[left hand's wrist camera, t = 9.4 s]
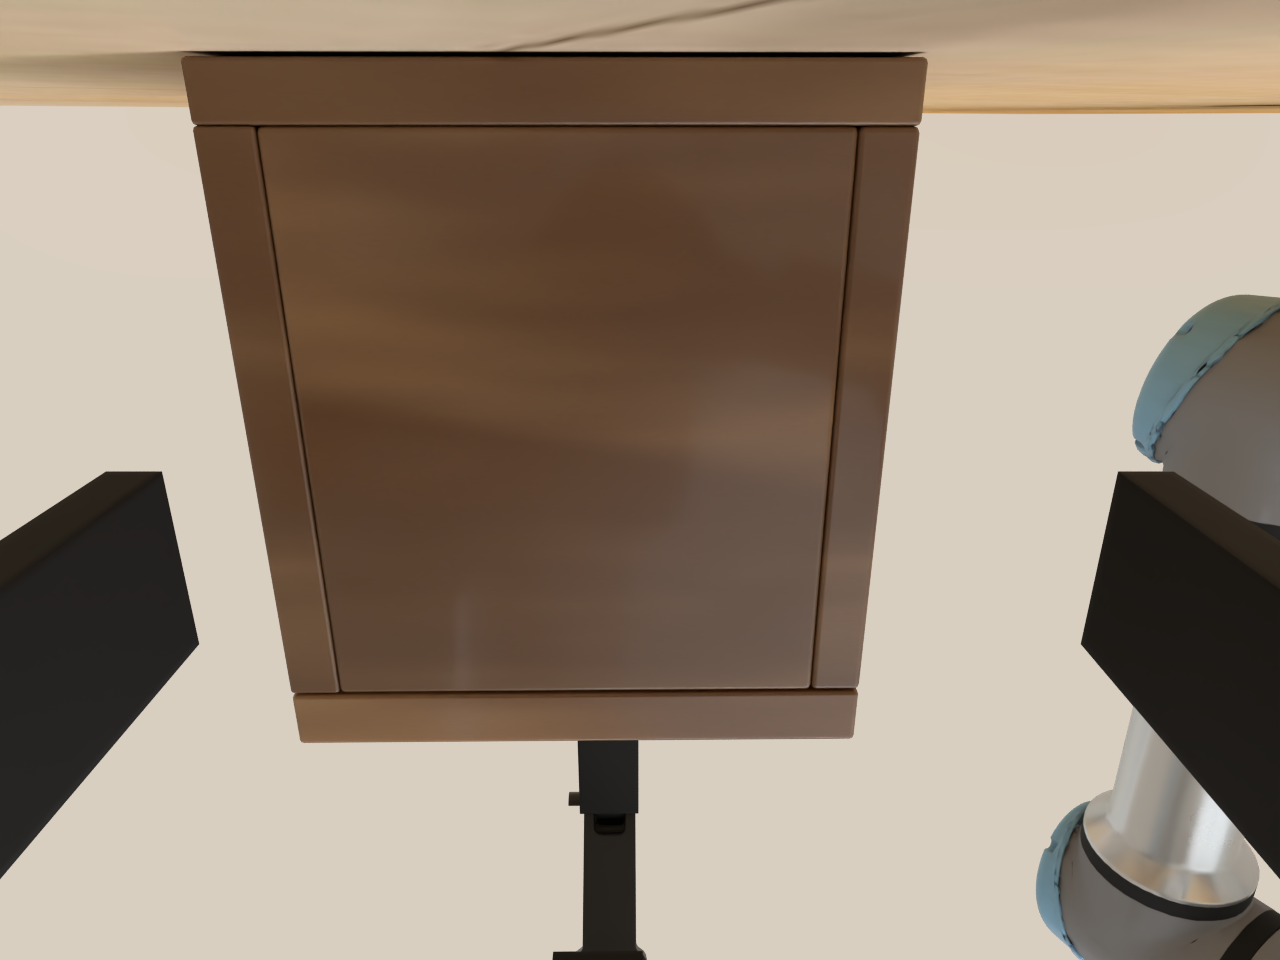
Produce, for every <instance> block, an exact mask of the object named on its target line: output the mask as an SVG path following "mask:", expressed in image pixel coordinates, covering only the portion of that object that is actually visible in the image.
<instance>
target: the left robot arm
mask: <svg viewBox="0 0 1280 960" xmlns="http://www.w3.org/2000/svg"><path fill="white" fill-rule="evenodd" d="M198 645H199V641H198V636H197V632H196V628H195V623H194V618H193V613H192V609H191V604H190V600H189V595H188V590H187V586H186V581H185V576H184V572H183V567H182V562H181V558H180V553H179V549H178V544H177V539H176V535H175V530H174V525H173V521H172V516H171V512H170V507H169V502H168V498H167V493H166V488H165V484H164V479H163V475H162V472H105V473H103V474H102V475H100V476H99V477H97V478H95V479H94V480H92V481H91V482H89V483H88V484H86V485H85V486H83V487H82V488H80V489H79V490H77V491H75V492H74V493H72V494H71V495H69V496H68V497H66V498H65V499H63V500H62V501H60V502H59V503H57V504H56V505H54V506H52V507H51V508H49V509H48V510H46V511H45V512H43V513H42V514H40V515H39V516H37V517H36V518H34V519H33V520H31V521H29V522H28V523H26V524H25V525H23V526H22V527H20V528H19V529H17V530H16V531H14V532H13V533H11V534H10V535H8V536H7V537H5V538H3V539H2V540H0V879H1V877H2V876H3V875H4V874H5V873H6V872H7V870H8V869H9V868H10V867H11V866H12V864H13V863H14V862H15V861H16V860H17V858H18V857H19V856H20V855H21V854H22V853H23V851H24V850H25V849H26V848H27V847H28V846H29V844H30V843H31V842H32V841H33V840H34V838H35V837H36V836H37V835H38V834H39V833H40V831H41V830H42V829H43V828H44V827H45V825H46V824H47V823H48V822H49V821H50V820H51V818H52V817H53V816H54V815H55V814H56V812H57V811H58V810H59V809H60V808H61V807H62V805H63V804H64V803H65V802H66V801H67V799H68V798H69V797H70V796H71V795H72V794H73V792H74V791H75V790H76V789H77V788H78V787H79V785H80V784H81V783H82V782H83V781H84V779H85V778H86V777H87V776H88V775H89V774H90V772H91V771H92V770H93V769H94V768H95V766H96V765H97V764H98V763H99V762H100V760H101V759H102V758H103V757H104V756H105V755H106V753H107V752H108V751H109V750H110V749H111V747H112V746H113V745H114V744H115V743H116V742H117V740H118V739H119V738H120V737H121V736H122V735H123V733H124V732H125V731H126V730H127V729H128V727H129V726H130V725H131V724H132V723H133V722H134V720H135V719H136V718H137V717H138V716H139V714H140V713H141V712H142V711H143V710H144V709H145V707H146V706H147V705H148V704H149V703H150V701H151V700H152V699H153V698H154V697H155V696H156V694H157V693H158V692H159V691H160V690H161V688H162V687H163V686H164V685H165V684H166V683H167V681H168V680H169V679H170V678H171V677H172V675H173V674H174V673H175V672H176V671H177V670H178V668H179V667H180V666H181V665H182V664H183V663H184V661H185V660H186V659H187V658H188V657H189V655H190V654H191V653H192V652H193V651H194V650H195V648H196V647H197V646H198ZM1081 645H1082V646H1083V647H1084V648H1085V650H1086V651H1087V652H1088V653H1089V654H1090V655H1091V657H1092V658H1093V659H1094V660H1095V661H1096V663H1097V664H1098V665H1099V666H1100V667H1101V668H1102V670H1103V671H1104V672H1105V673H1106V674H1107V676H1108V677H1109V678H1110V679H1111V680H1112V681H1113V683H1114V684H1115V685H1116V686H1117V687H1118V689H1119V690H1120V691H1121V692H1122V693H1123V694H1124V696H1125V697H1126V698H1127V699H1128V700H1129V702H1130V703H1131V704H1132V705H1133V706H1134V707H1135V709H1136V710H1137V711H1138V712H1139V713H1140V714H1141V716H1142V717H1143V718H1144V719H1145V720H1146V722H1147V723H1148V724H1149V725H1150V726H1151V727H1152V729H1153V730H1154V731H1155V732H1156V733H1157V735H1158V736H1159V737H1160V738H1161V739H1162V740H1163V742H1164V743H1165V744H1166V745H1167V746H1168V748H1169V749H1170V750H1171V751H1172V752H1173V753H1174V755H1175V756H1176V757H1177V758H1178V759H1179V761H1180V762H1181V763H1182V764H1183V765H1184V766H1185V768H1186V769H1187V770H1188V771H1189V772H1190V774H1191V775H1192V776H1193V777H1194V778H1195V779H1196V781H1197V782H1198V783H1199V784H1200V785H1201V787H1202V788H1203V789H1204V790H1205V791H1206V792H1207V794H1208V795H1209V796H1210V797H1211V798H1212V799H1213V801H1214V802H1215V803H1216V804H1217V805H1218V807H1219V808H1220V809H1221V810H1222V811H1223V812H1224V814H1225V815H1226V816H1227V817H1228V818H1229V820H1230V821H1231V822H1232V823H1233V824H1234V825H1235V827H1236V828H1237V829H1238V830H1239V831H1240V833H1241V834H1242V835H1243V836H1244V837H1245V838H1246V840H1247V841H1248V842H1249V843H1250V844H1251V846H1252V847H1253V848H1254V849H1255V850H1256V851H1257V853H1258V854H1259V855H1260V856H1261V857H1262V858H1263V860H1264V861H1265V862H1266V863H1267V864H1268V866H1269V867H1270V868H1271V869H1272V870H1273V872H1274V873H1275V874H1276V875H1277V876H1278V877H1279V879H1280V540H1278V539H1277V538H1275V537H1274V536H1272V535H1270V534H1269V533H1267V532H1266V531H1264V530H1263V529H1261V528H1260V527H1258V526H1257V525H1255V524H1254V523H1252V522H1251V521H1249V520H1247V519H1246V518H1244V517H1243V516H1241V515H1240V514H1238V513H1237V512H1235V511H1234V510H1232V509H1231V508H1229V507H1228V506H1226V505H1224V504H1223V503H1221V502H1220V501H1218V500H1217V499H1215V498H1214V497H1212V496H1211V495H1209V494H1208V493H1206V492H1205V491H1203V490H1201V489H1200V488H1198V487H1197V486H1195V485H1194V484H1192V483H1191V482H1189V481H1188V480H1186V479H1185V478H1183V477H1181V476H1180V475H1178V474H1177V473H1175V472H1118V475H1117V479H1116V484H1115V488H1114V493H1113V498H1112V502H1111V507H1110V512H1109V516H1108V521H1107V525H1106V530H1105V535H1104V539H1103V544H1102V549H1101V553H1100V558H1099V563H1098V567H1097V572H1096V576H1095V581H1094V586H1093V590H1092V595H1091V599H1090V604H1089V609H1088V613H1087V618H1086V623H1085V627H1084V632H1083V636H1082V641H1081Z"/></svg>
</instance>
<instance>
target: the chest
mask: <svg viewBox="0 0 1280 960" xmlns="http://www.w3.org/2000/svg"><path fill="white" fill-rule="evenodd" d="M181 63H182V68H183V74H184V80H185V86H186V91H187V97H188V103H189V108H190V114H191V120H192V122H193V124H195V125H197V126H196V127H194V129H193V132H194V138H195V143H196V149H197V155H198V161H199V166H200V172H201V178H202V184H203V189H204V195H205V201H206V206H207V212H208V218H209V223H210V229H211V234H212V241H213V246H214V252H215V258H216V263H217V269H218V275H219V280H220V286H221V292H222V297H223V303H224V309H225V315H226V321H227V326H228V332H229V338H230V343H231V349H232V355H233V360H234V366H235V372H236V378H237V383H238V389H239V395H240V401H241V406H242V412H243V418H244V423H245V429H246V435H247V440H248V446H249V452H250V458H251V463H252V469H253V474H254V480H255V486H256V492H257V498H258V503H259V509H260V515H261V520H262V526H263V532H264V538H265V543H266V549H267V555H268V560H269V566H270V572H271V578H272V583H273V589H274V595H275V600H276V606H277V612H278V618H279V623H280V629H281V635H282V640H283V646H284V652H285V658H286V663H287V669H288V675H289V680H290V686H291V691H292V692H293V693H336V692H339V691H340V689H341V690H342V691H344V692H379V691H517V690H656V689H794V688H808V687H809V686H810V683H811V685H812V687H814V688H856V687H857V686H858V684H859V677H860V668H861V659H862V650H863V640H864V631H865V622H866V613H867V604H868V595H869V586H870V577H871V568H872V558H873V550H874V540H875V531H876V522H877V513H878V504H879V495H880V486H881V477H882V468H883V459H884V450H885V441H886V431H887V422H888V413H889V404H890V395H891V386H892V377H893V368H894V359H895V350H896V341H897V332H898V322H899V313H900V304H901V295H902V286H903V277H904V268H905V259H906V250H907V241H908V232H909V223H910V213H911V204H912V195H913V186H914V177H915V168H916V159H917V150H918V141H919V130H918V128H917V127H915V126H916V125H919V124H920V122H921V119H922V110H923V101H924V92H925V82H926V73H927V64H928V62H927V59H926V58H924V57H319V56H185V57H183V58H182V61H181Z"/></svg>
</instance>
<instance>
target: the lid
mask: <svg viewBox="0 0 1280 960" xmlns="http://www.w3.org/2000/svg"><path fill="white" fill-rule="evenodd" d="M857 697H858V693H857V690H856V688H814V687H812V685H811V683H810V686H809V687H808V688H794V689H656V690H517V691H379V692H344V691H342V690H341V689H340V691H339V692H336V693H295V694H294V696H293V701H294V707H295V712H296V718H297V724H298V730H299V735H300V740H301V742H304V743H332V742H460V741H586V740H711V739H712V740H713V739H838V738H839V739H840V738H852V737H853V734H854V725H855V716H856V707H857Z"/></svg>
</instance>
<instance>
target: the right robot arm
mask: <svg viewBox="0 0 1280 960" xmlns="http://www.w3.org/2000/svg"><path fill="white" fill-rule="evenodd" d="M1132 427H1133V436H1134V438H1135V439H1136V441H1135V444H1136V447H1137V449H1138V450H1139V451H1140V452H1141V453H1142V454H1143V455H1145V456H1147V457H1148V458H1149V459H1150V460H1151V461H1152V462H1155V463H1161V462H1162V463H1163V465H1164V466H1163V472H1175V473H1177V474H1178V475H1180V476H1181V477H1183V478H1185V479H1186V480H1188V481H1189V482H1191V483H1192V484H1194V485H1195V486H1197V487H1198V488H1200V489H1201V490H1203V491H1205V492H1206V493H1208V494H1209V495H1211V496H1212V497H1214V498H1215V499H1217V500H1218V501H1220V502H1221V503H1223V504H1224V505H1226V506H1228V507H1229V508H1231V509H1232V510H1234V511H1235V512H1237V513H1238V514H1240V515H1241V516H1243V517H1244V518H1246V519H1247V520H1249V521H1251V522H1252V523H1254V524H1255V525H1257V526H1258V527H1260V528H1261V529H1263V530H1264V531H1266V532H1267V533H1269V534H1270V535H1272V536H1274V537H1275V538H1277V539H1278V540H1280V298H1278V297H1266V296H1256V295H1235V296H1230V297H1226V298H1223V299H1220V300H1217V301H1215V302H1213V303H1211V304H1209V305H1208V306H1206V307H1204V308H1203V309H1201V310H1200V311H1199V312H1197V313H1196V314H1195V315H1193V316H1192V317H1191V318H1190V319H1189V320H1188V321H1187V322H1186V323H1185V324H1184V325H1183V326H1182V327H1181V328H1180V329H1179V330H1178V332H1177V333H1176V334H1175V335H1174V337H1172V338H1171V339H1170V340H1169V342H1168V343H1167V344H1166V346H1165V347H1164V349H1163V350H1162V351H1161V353H1160V354H1159V356H1158V357H1157V359H1156V361H1155V362H1154V364H1153V366H1152V368H1151V370H1150V371H1149V373H1148V375H1147V377H1146V380H1145V382H1144V384H1143V387H1142V389H1141V392H1140V395H1139V397H1138V400H1137V404H1136V407H1135V411H1134V417H1133V426H1132ZM578 764H579V792H569V806H580V814H584V887H583V946H582V947H581V948H580V949H579V950H578V951H576V952H553V960H647V958H646V954H645V952H644V951H643V950H642V949H641V948H639V947H638V946H637V944H636V871H635V870H636V869H635V813H638V740H586V741H578ZM1051 840H1052V842H1051V845H1050V847H1049V848H1047V849H1045V850H1044V852H1043V855H1042V857H1041V861H1040V864H1039V869H1038V873H1037V880H1036V899H1037V904H1038V908H1039V912H1040V914H1041V917H1042V919H1043V921H1044V922H1045V924H1046V925H1047V927H1048V928H1049V929H1050V930H1051V931H1052V932H1053V933H1054V934H1055V935H1056V936H1057V937H1058V938H1059V939H1060V940H1062V941H1063V942H1064V943H1065V944H1066V945H1067V946H1069V947H1070V949H1071V950H1072V952H1073V953H1074V954H1075V955H1076V957H1077V958H1079V959H1080V960H1280V914H1279V913H1277V912H1276V911H1275V910H1273V909H1272V908H1270V907H1269V906H1267V905H1265V904H1264V903H1262V902H1261V901H1259V900H1258V899H1256V898H1255V897H1254V894H1255V891H1256V888H1257V885H1258V881H1259V867H1258V863H1257V860H1256V857H1255V855H1254V853H1253V852H1252V850H1251V848H1250V847H1249V846H1248V844H1247V843H1246V842H1245V840H1244V836H1243V835H1242V834H1241V833H1240V831H1239V830H1238V829H1237V828H1236V827H1235V825H1234V824H1233V823H1232V822H1231V821H1230V820H1229V818H1228V817H1227V816H1226V815H1225V814H1224V812H1223V811H1222V810H1221V809H1220V808H1219V807H1218V805H1217V804H1216V803H1215V802H1214V801H1213V799H1212V798H1211V797H1210V796H1209V795H1208V794H1207V792H1206V791H1205V790H1204V789H1203V788H1202V787H1201V785H1200V784H1199V783H1198V782H1197V781H1196V779H1195V778H1194V777H1193V776H1192V775H1191V774H1190V772H1189V771H1188V770H1187V769H1186V768H1185V766H1184V765H1183V764H1182V763H1181V762H1180V761H1179V759H1178V758H1177V757H1176V756H1175V755H1174V753H1173V752H1172V751H1171V750H1170V749H1169V748H1168V746H1167V745H1166V744H1165V743H1164V742H1163V740H1162V739H1161V738H1160V737H1159V736H1158V735H1157V733H1156V732H1155V731H1154V730H1153V729H1152V727H1151V726H1150V725H1149V724H1148V723H1147V722H1146V720H1145V719H1144V718H1143V717H1142V716H1141V714H1140V713H1139V712H1138V711H1137V710H1136V709H1135V707H1134V706H1133V710H1132V714H1131V718H1130V722H1129V726H1128V731H1127V735H1126V739H1125V743H1124V747H1123V751H1122V756H1121V760H1120V764H1119V768H1118V772H1117V776H1116V780H1115V784H1114V789H1113V790H1110V791H1107V792H1104V793H1102V794H1100V795H1098V796H1096V797H1095V798H1094V799H1093V800H1091V801H1088V802H1085V803H1082V804H1080V805H1079V806H1077V807H1075V808H1074V809H1073V810H1072V811H1070V812H1069V813H1068V814H1067V815H1066V816H1065V817H1064V818H1063V820H1062V821H1061V822H1060V823H1059V825H1058V826H1057V828H1056V829H1055V830H1054V832H1053V834H1052V836H1051Z"/></svg>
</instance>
